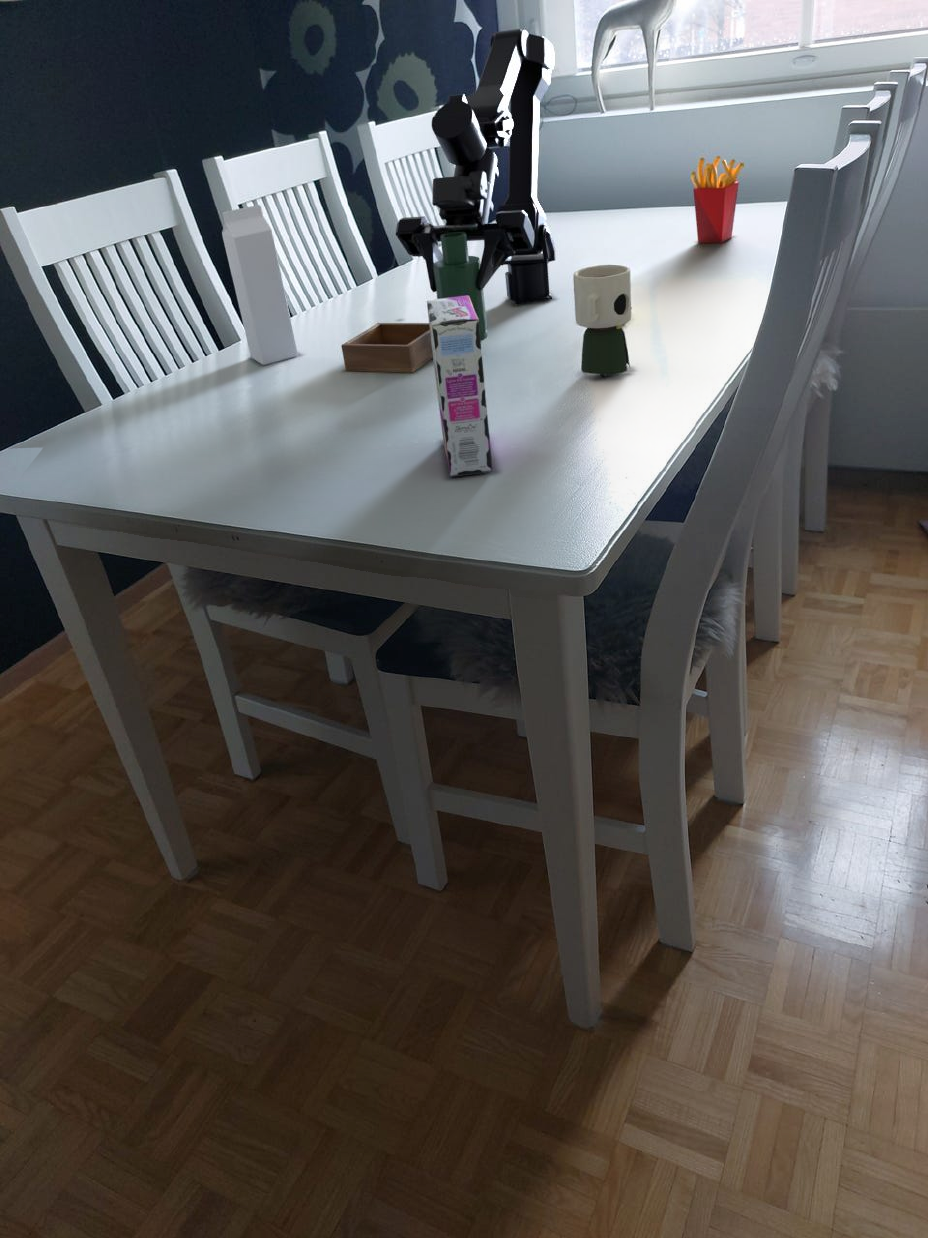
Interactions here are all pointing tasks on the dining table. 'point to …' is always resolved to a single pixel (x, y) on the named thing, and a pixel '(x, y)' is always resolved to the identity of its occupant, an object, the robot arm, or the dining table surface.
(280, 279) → the milk
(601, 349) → the character mug
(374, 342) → the crate
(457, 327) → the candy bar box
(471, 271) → the bottle
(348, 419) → the dining table surface
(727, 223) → the french fries
